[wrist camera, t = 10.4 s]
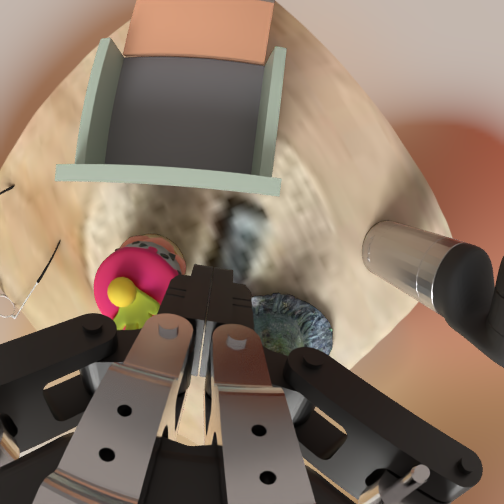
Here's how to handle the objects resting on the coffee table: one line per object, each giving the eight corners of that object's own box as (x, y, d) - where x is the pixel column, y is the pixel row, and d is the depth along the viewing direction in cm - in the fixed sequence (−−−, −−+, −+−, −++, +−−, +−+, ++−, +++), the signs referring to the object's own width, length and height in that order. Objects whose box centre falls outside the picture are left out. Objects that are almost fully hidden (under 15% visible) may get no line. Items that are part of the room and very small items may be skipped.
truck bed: (251, 190, 39) (279, 196, 24) (110, 180, 36) (54, 181, 21) (265, 82, 36) (297, 31, 20) (127, 73, 33) (88, 23, 17)
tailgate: (264, 62, 28) (275, -4, 25) (122, 54, 26) (139, -11, 22) (262, 64, 30) (273, 1, 26) (126, 56, 27) (142, -7, 23)
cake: (104, 264, 39) (59, 304, 24) (153, 215, 38) (122, 234, 24) (152, 314, 41) (131, 373, 27) (203, 270, 41) (201, 317, 27)
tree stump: (264, 404, 49) (263, 469, 31) (198, 322, 49) (166, 367, 31) (348, 352, 48) (384, 404, 30) (288, 262, 47) (302, 279, 29)
